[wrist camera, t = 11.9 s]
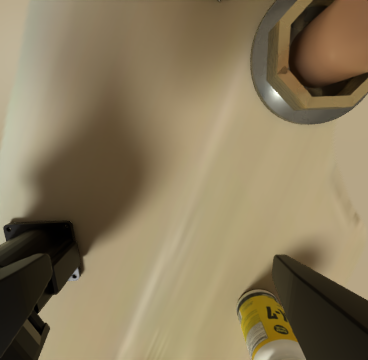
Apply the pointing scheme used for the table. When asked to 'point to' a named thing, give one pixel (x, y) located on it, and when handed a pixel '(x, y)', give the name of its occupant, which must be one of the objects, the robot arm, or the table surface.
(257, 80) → the holder
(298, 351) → the supplement bottle
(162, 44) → the table surface
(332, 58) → the vase
